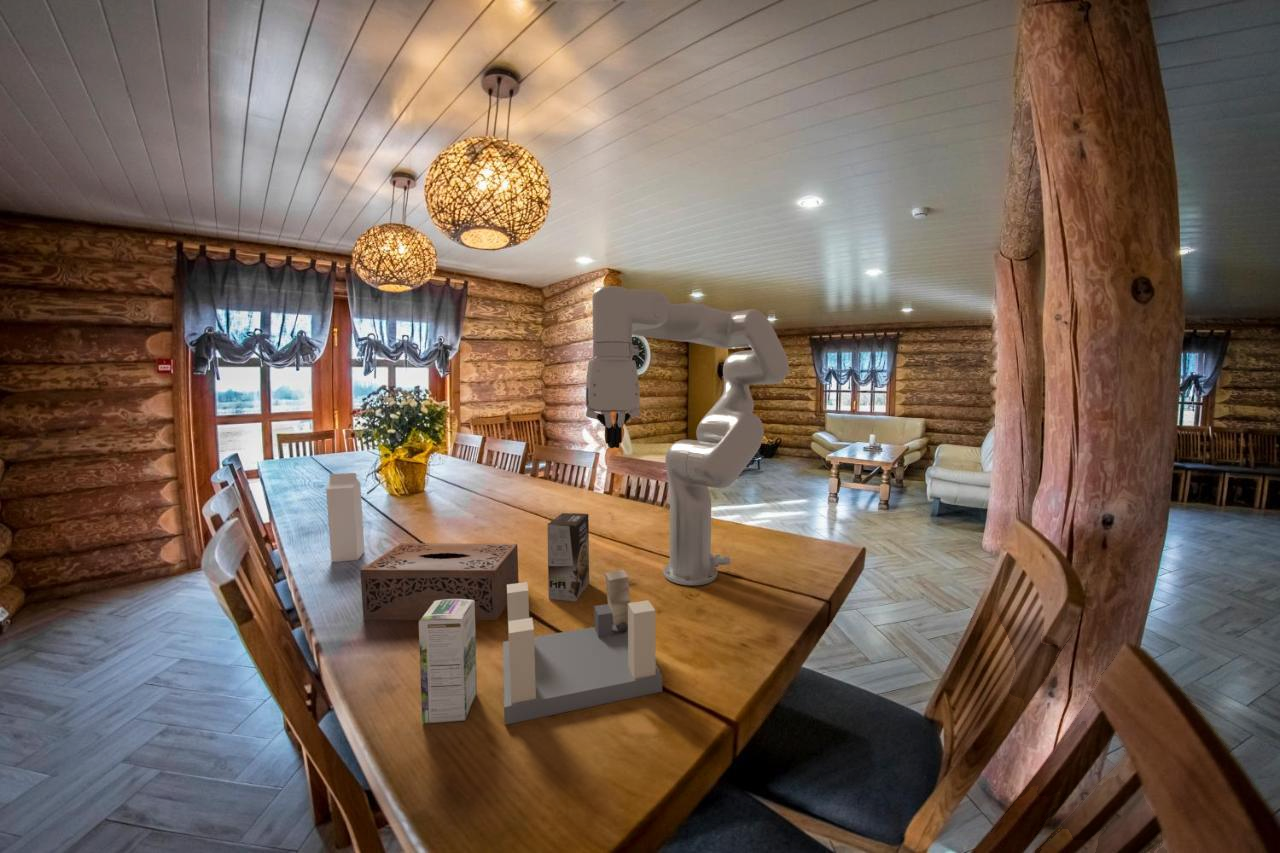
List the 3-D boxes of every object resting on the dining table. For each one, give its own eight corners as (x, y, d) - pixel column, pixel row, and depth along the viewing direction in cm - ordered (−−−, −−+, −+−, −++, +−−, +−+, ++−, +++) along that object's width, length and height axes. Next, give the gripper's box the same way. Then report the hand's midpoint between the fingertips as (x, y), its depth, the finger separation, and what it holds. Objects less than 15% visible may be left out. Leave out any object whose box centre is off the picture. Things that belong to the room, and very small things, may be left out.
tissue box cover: (363, 620, 88) (360, 569, 87) (403, 587, 102) (401, 543, 102) (497, 621, 88) (495, 570, 87) (518, 587, 102) (517, 543, 101)
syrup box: (436, 695, 66) (432, 599, 65) (478, 693, 67) (474, 597, 65) (421, 724, 61) (415, 619, 59) (467, 721, 61) (462, 617, 60)
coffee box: (577, 602, 94) (575, 525, 93) (547, 599, 96) (545, 523, 94) (590, 583, 103) (589, 513, 102) (563, 581, 105) (562, 511, 103)
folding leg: (627, 620, 81) (622, 568, 80) (632, 630, 78) (628, 577, 77) (609, 624, 81) (604, 572, 79) (614, 634, 77) (609, 581, 76)
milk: (357, 560, 117) (352, 475, 115) (330, 562, 116) (324, 476, 114) (365, 551, 123) (360, 470, 121) (339, 554, 122) (333, 471, 119)
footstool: (631, 634, 82) (631, 567, 81) (662, 691, 67) (662, 610, 66) (503, 656, 76) (500, 584, 75) (504, 724, 61) (501, 636, 59)
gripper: (643, 355, 95) (643, 443, 97) (571, 354, 91) (572, 446, 92) (655, 352, 88) (655, 448, 90) (577, 351, 84) (579, 451, 85)
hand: (613, 446), depth 91 cm, fingers closed
